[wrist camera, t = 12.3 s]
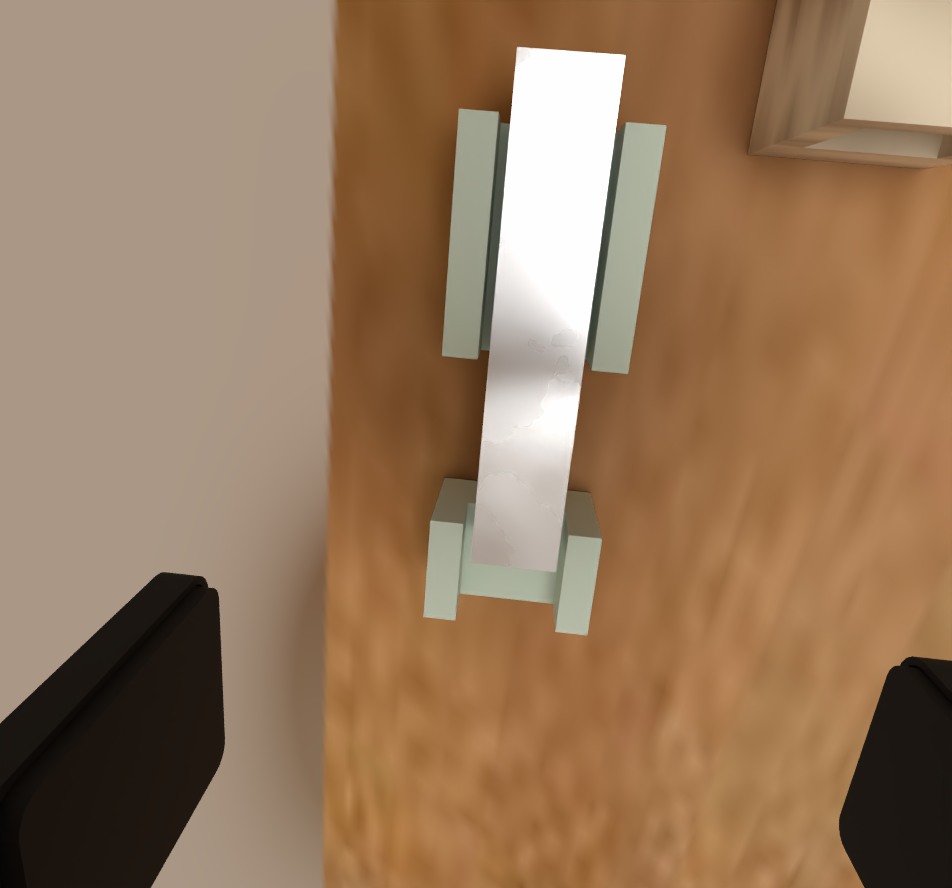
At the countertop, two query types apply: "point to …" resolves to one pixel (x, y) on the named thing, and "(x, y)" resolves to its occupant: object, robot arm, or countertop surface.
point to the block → (858, 83)
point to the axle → (543, 299)
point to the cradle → (471, 333)
